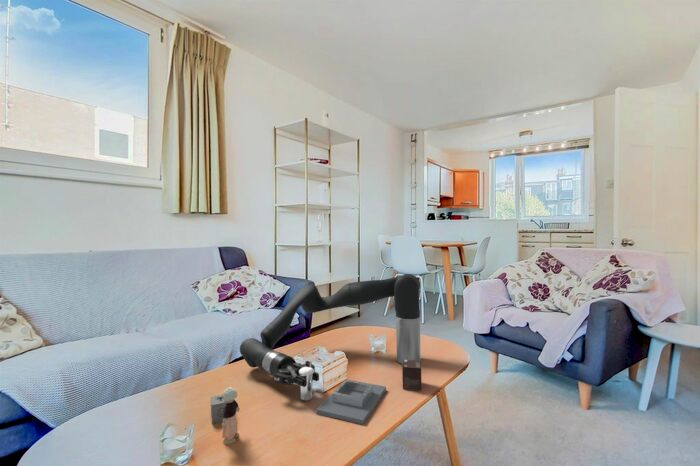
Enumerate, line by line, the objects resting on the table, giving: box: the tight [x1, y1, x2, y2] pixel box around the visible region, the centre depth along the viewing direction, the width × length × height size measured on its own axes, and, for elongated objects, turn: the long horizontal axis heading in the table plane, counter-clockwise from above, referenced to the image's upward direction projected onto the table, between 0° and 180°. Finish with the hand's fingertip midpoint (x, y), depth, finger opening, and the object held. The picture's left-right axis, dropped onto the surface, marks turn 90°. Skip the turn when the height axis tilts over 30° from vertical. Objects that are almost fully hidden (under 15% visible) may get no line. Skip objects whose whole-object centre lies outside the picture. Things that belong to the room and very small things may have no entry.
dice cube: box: [210, 393, 227, 424], centre depth 92 cm, size 5×5×5 cm
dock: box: [315, 379, 387, 426], centre depth 99 cm, size 20×14×4 cm
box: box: [401, 360, 423, 391], centre depth 108 cm, size 6×6×7 cm
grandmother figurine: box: [221, 386, 241, 445], centre depth 81 cm, size 8×4×13 cm, turn 5°
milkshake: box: [299, 361, 314, 401], centre depth 101 cm, size 5×5×10 cm
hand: (311, 380), depth 99 cm, fingers closed on milkshake, 4 cm apart
